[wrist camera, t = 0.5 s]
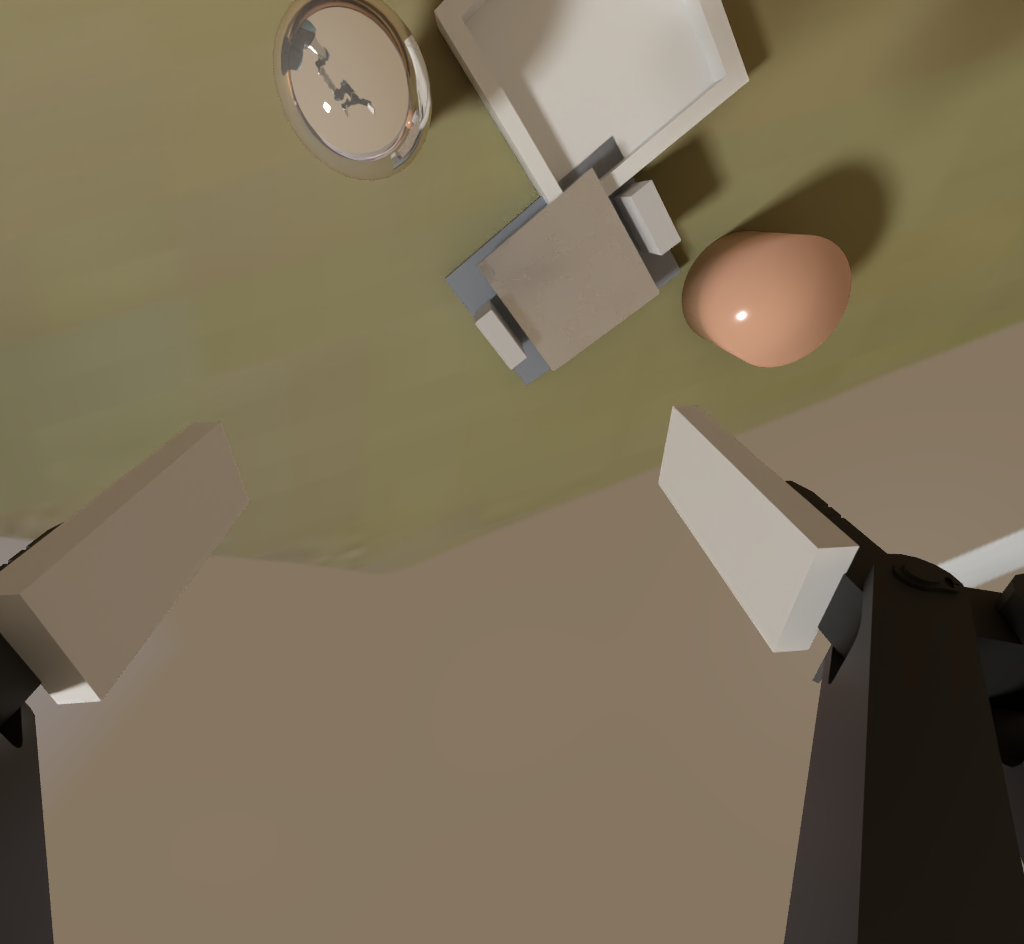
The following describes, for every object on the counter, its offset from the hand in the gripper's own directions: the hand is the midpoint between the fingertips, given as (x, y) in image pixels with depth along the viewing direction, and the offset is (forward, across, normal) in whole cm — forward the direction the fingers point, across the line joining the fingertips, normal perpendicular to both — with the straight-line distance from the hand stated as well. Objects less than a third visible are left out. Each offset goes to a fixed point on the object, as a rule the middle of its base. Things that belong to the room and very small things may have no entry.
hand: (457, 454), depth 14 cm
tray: (+24, +8, +14) cm, 29 cm away
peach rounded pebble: (+24, +21, +1) cm, 31 cm away
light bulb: (+24, -4, +11) cm, 27 cm away
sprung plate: (+21, +7, +2) cm, 23 cm away
